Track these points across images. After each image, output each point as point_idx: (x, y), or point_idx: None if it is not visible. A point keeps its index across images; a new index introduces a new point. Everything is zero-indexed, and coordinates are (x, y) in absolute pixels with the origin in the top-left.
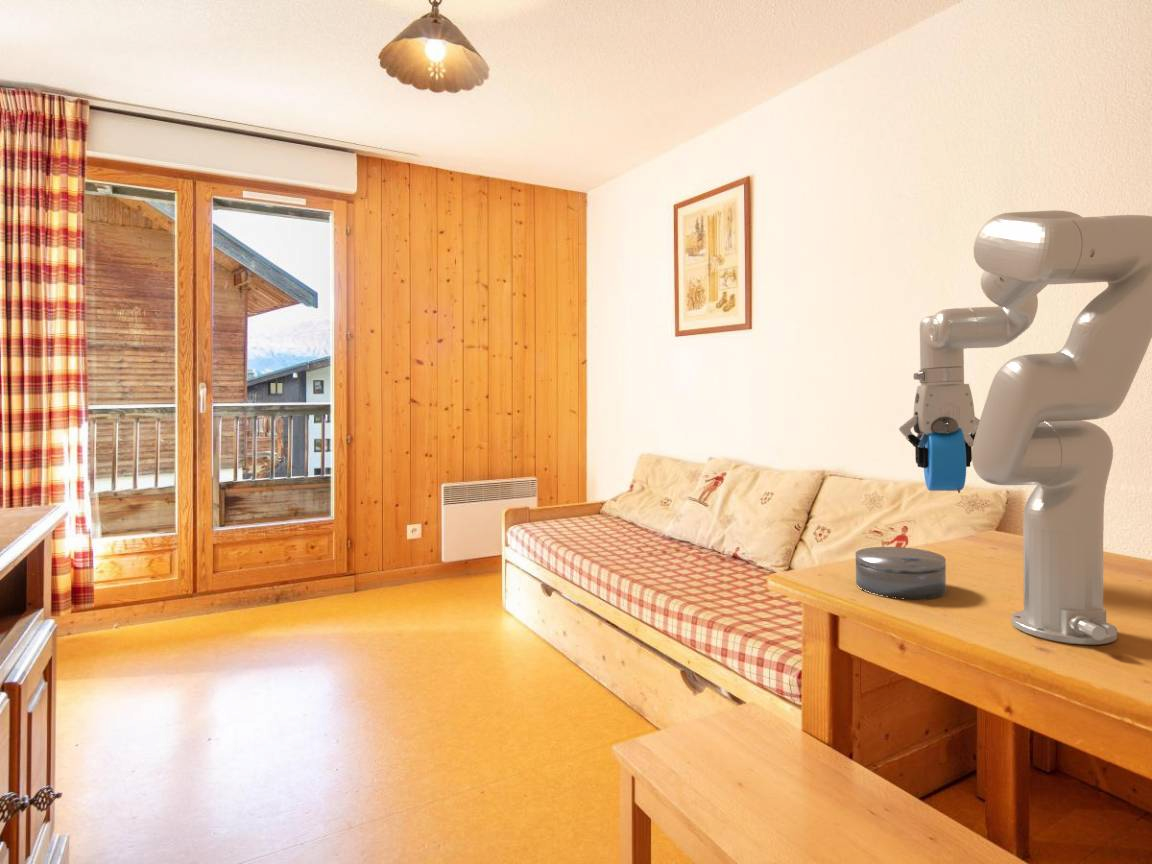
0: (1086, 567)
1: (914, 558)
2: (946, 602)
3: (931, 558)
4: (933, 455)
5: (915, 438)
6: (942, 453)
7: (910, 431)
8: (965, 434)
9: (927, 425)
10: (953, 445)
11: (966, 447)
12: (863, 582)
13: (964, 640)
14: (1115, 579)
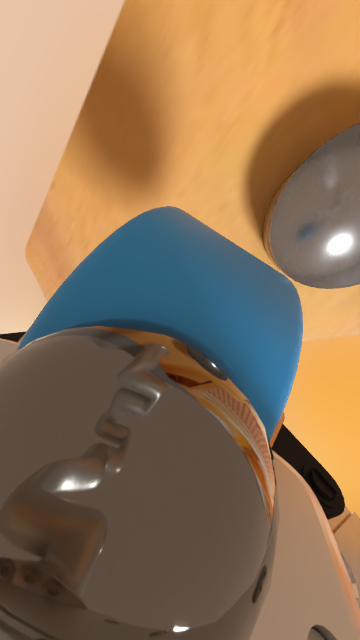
0: None
1: (345, 189)
2: (333, 122)
3: (315, 182)
4: (294, 287)
5: (296, 466)
6: (256, 267)
7: (349, 557)
8: None
9: (315, 591)
10: (187, 255)
11: None
12: None
13: None
14: (70, 195)
